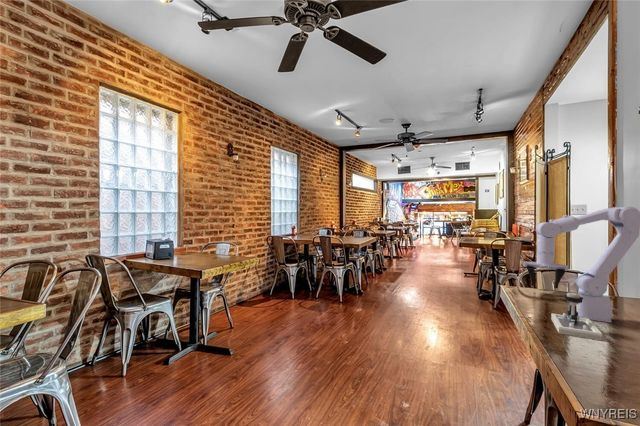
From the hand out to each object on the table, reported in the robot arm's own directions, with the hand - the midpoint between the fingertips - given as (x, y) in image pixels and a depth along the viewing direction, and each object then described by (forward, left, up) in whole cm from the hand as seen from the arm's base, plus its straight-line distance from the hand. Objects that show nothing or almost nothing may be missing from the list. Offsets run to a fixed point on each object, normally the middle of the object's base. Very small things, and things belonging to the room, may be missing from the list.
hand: (544, 286), depth 129 cm
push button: (-7, +15, -9) cm, 19 cm away
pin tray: (-7, +16, -10) cm, 20 cm away
